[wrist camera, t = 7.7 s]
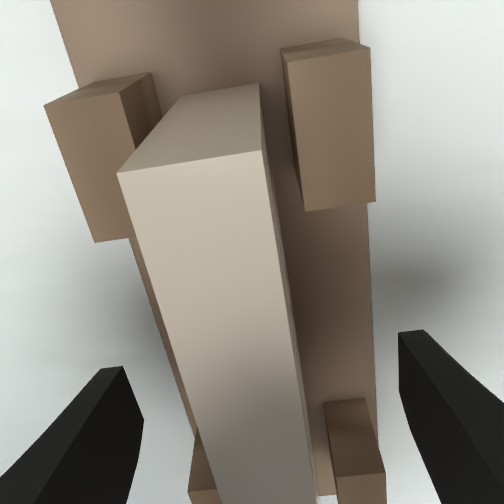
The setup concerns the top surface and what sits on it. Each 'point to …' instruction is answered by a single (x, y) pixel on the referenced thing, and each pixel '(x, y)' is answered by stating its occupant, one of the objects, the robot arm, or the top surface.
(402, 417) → the top surface
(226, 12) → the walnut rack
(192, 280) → the clay strip
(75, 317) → the top surface
